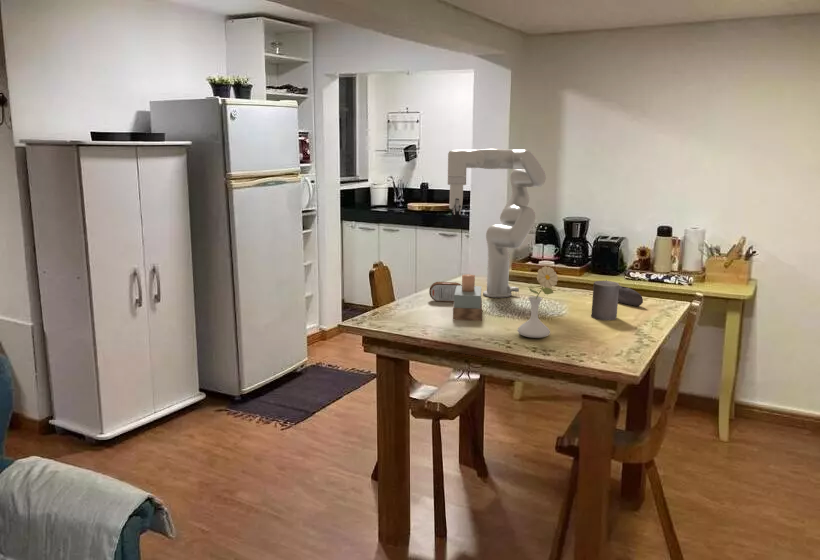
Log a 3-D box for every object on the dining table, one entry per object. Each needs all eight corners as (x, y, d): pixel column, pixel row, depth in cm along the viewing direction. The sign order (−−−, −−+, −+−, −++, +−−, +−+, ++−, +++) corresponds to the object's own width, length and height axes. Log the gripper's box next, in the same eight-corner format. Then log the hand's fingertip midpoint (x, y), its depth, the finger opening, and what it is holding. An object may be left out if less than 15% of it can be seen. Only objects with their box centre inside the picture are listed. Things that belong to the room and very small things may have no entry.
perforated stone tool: (646, 307, 277) (647, 291, 276) (637, 308, 275) (638, 292, 273) (619, 300, 290) (620, 284, 289) (610, 301, 288) (611, 285, 286)
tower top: (481, 298, 271) (481, 286, 270) (480, 308, 254) (480, 295, 253) (456, 297, 272) (456, 285, 271) (454, 307, 255) (454, 295, 254)
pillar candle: (586, 315, 263) (588, 278, 260) (606, 313, 267) (608, 276, 264) (601, 321, 254) (604, 283, 251) (622, 319, 258) (625, 281, 255)
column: (474, 289, 264) (474, 274, 263) (474, 291, 259) (475, 276, 258) (461, 289, 264) (461, 274, 263) (462, 291, 260) (462, 276, 258)
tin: (464, 301, 285) (464, 282, 284) (464, 303, 282) (464, 283, 281) (429, 300, 287) (429, 281, 285) (428, 301, 284) (429, 282, 282)
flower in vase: (519, 340, 228) (522, 268, 223) (515, 331, 240) (518, 262, 235) (557, 341, 228) (561, 269, 223) (552, 332, 239) (555, 263, 234)
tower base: (481, 309, 273) (481, 297, 272) (481, 321, 254) (482, 309, 253) (454, 308, 274) (454, 297, 273) (452, 320, 255) (453, 308, 254)
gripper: (446, 179, 279) (446, 220, 282) (448, 182, 262) (447, 225, 265) (464, 180, 278) (464, 220, 282) (467, 182, 261) (466, 225, 265)
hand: (456, 223), depth 273 cm, fingers open, 9 cm apart
